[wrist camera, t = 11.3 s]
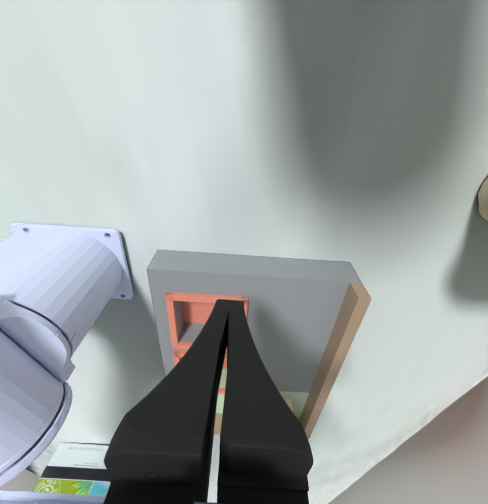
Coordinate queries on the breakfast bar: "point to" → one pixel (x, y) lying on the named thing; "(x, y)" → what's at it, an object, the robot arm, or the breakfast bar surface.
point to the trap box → (264, 317)
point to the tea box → (76, 470)
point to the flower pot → (483, 200)
